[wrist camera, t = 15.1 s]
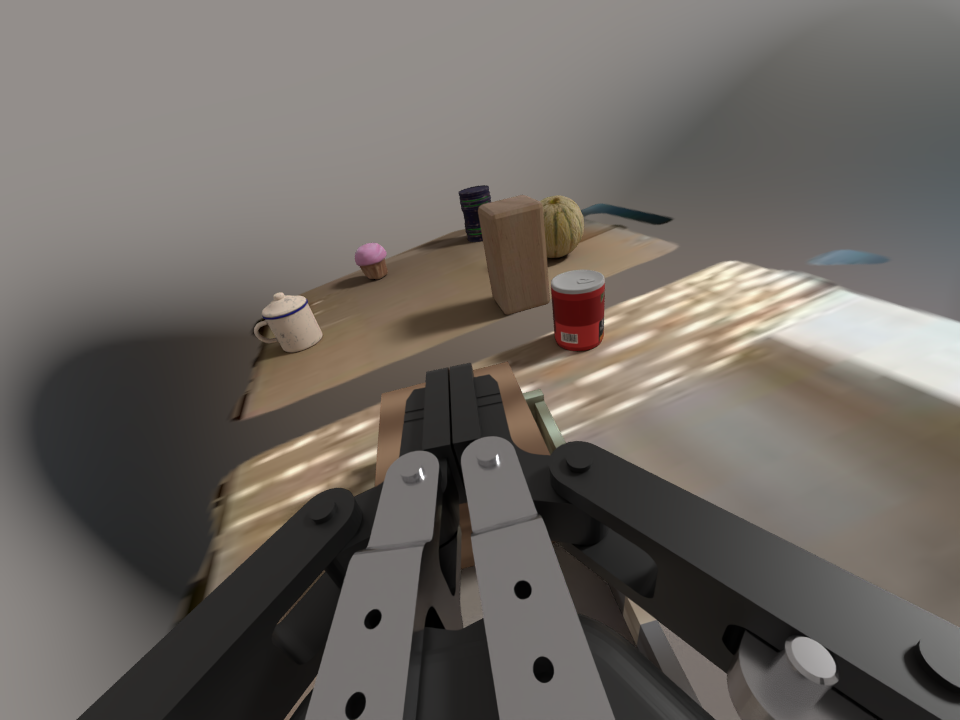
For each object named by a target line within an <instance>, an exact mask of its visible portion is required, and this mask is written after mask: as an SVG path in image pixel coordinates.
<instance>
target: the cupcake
mask: <svg viewBox="0 0 960 720" xmlns="http://www.w3.org/2000/svg"><path fill="white" fill-rule="evenodd" d="M385 257H386V251H385V249H384V248H383V247H381V246H380V245H379V244H377V243H368V244H365V245H363V246H361V247H359V248H358V250H357V251H356V252H355V261H356V264H357V265H358V266H360V268H361V269H362V271H363V273H364V274H365V275H366V276H367V277H368V278H369V279H381V278H382V277H384V276H385V275H387V273H388V272H387V267H386V264H385Z"/></svg>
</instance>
